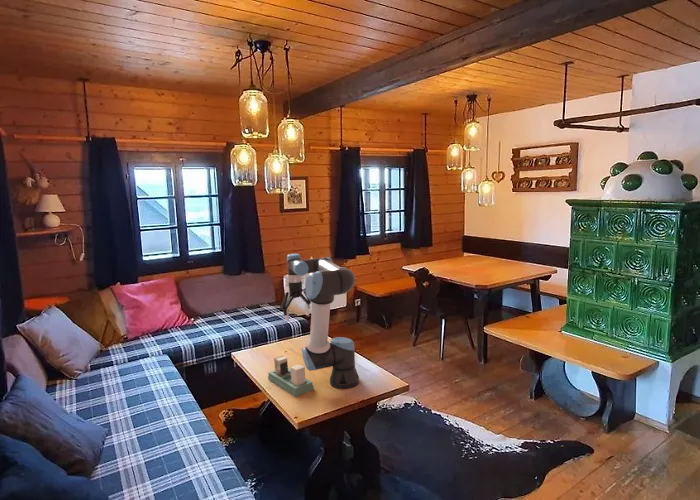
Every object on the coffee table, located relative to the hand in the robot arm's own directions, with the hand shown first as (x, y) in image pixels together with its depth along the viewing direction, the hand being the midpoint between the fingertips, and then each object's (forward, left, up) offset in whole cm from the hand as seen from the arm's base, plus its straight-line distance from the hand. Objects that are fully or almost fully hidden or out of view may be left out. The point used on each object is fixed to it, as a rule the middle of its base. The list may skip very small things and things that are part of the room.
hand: (297, 317), depth 248 cm
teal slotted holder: (-20, +19, -27) cm, 39 cm away
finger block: (-12, +19, -25) cm, 34 cm away
